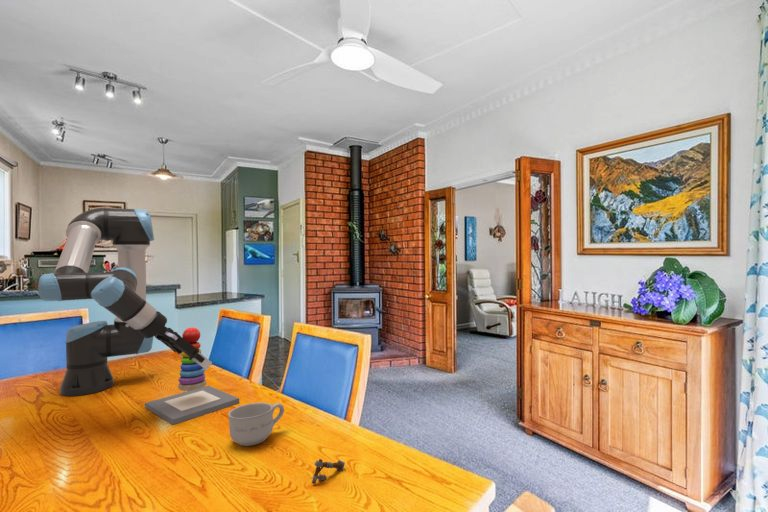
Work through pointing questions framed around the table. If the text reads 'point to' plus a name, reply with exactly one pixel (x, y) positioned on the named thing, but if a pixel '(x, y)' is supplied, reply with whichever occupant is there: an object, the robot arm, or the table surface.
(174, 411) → the plate
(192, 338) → the stacking toy
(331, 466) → the dark triangular frame
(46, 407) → the table surface
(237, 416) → the teacup
